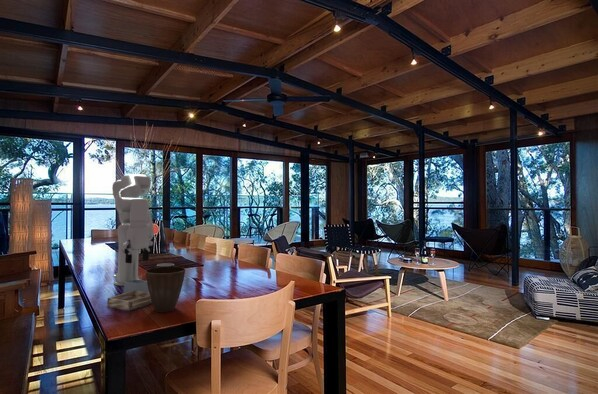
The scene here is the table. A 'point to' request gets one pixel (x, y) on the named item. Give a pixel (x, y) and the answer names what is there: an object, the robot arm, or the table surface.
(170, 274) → the plant pot
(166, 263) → the coffee mug
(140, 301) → the birch crate
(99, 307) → the table surface
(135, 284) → the slate crate
